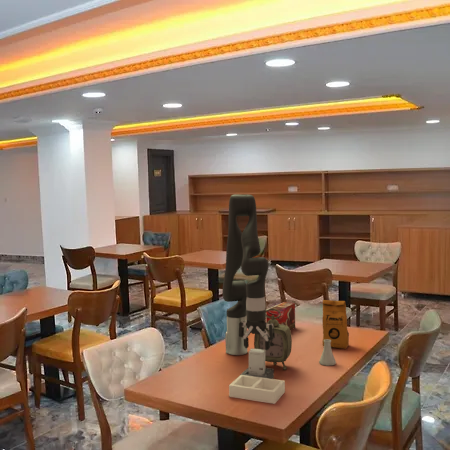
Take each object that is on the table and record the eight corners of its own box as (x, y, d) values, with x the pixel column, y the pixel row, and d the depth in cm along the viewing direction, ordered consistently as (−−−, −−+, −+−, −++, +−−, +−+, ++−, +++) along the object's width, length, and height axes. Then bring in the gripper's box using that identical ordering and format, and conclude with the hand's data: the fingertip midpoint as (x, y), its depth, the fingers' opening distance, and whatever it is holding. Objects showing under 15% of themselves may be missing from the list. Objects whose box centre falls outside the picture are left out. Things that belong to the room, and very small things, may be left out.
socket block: (240, 383, 208) (240, 374, 207) (250, 373, 218) (250, 365, 217) (264, 386, 203) (264, 378, 203) (273, 377, 213) (273, 368, 213)
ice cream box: (284, 326, 288) (284, 302, 286) (295, 327, 284) (294, 303, 283) (266, 335, 271) (265, 310, 270) (277, 337, 267) (277, 311, 266)
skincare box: (248, 381, 209) (247, 351, 208) (251, 377, 214) (250, 348, 213) (263, 383, 207) (262, 352, 206) (266, 379, 212) (265, 349, 211)
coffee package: (347, 350, 244) (346, 303, 242) (320, 348, 248) (319, 301, 247) (350, 344, 253) (350, 299, 251) (324, 342, 258) (324, 297, 256)
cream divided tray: (229, 396, 195) (228, 385, 195) (241, 385, 205) (241, 374, 205) (274, 403, 188) (274, 392, 187) (284, 391, 198) (284, 380, 198)
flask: (336, 366, 224) (336, 343, 223) (318, 365, 225) (318, 342, 224) (336, 360, 231) (335, 338, 230) (319, 360, 232) (318, 337, 231)
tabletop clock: (254, 368, 224) (253, 310, 222) (260, 361, 232) (259, 305, 230) (288, 372, 219) (287, 312, 217) (293, 364, 227) (292, 307, 225)
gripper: (235, 309, 208) (236, 349, 209) (269, 311, 202) (270, 353, 203) (242, 304, 215) (243, 344, 216) (276, 307, 209) (277, 347, 210)
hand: (256, 348), depth 209 cm, fingers open, 8 cm apart
